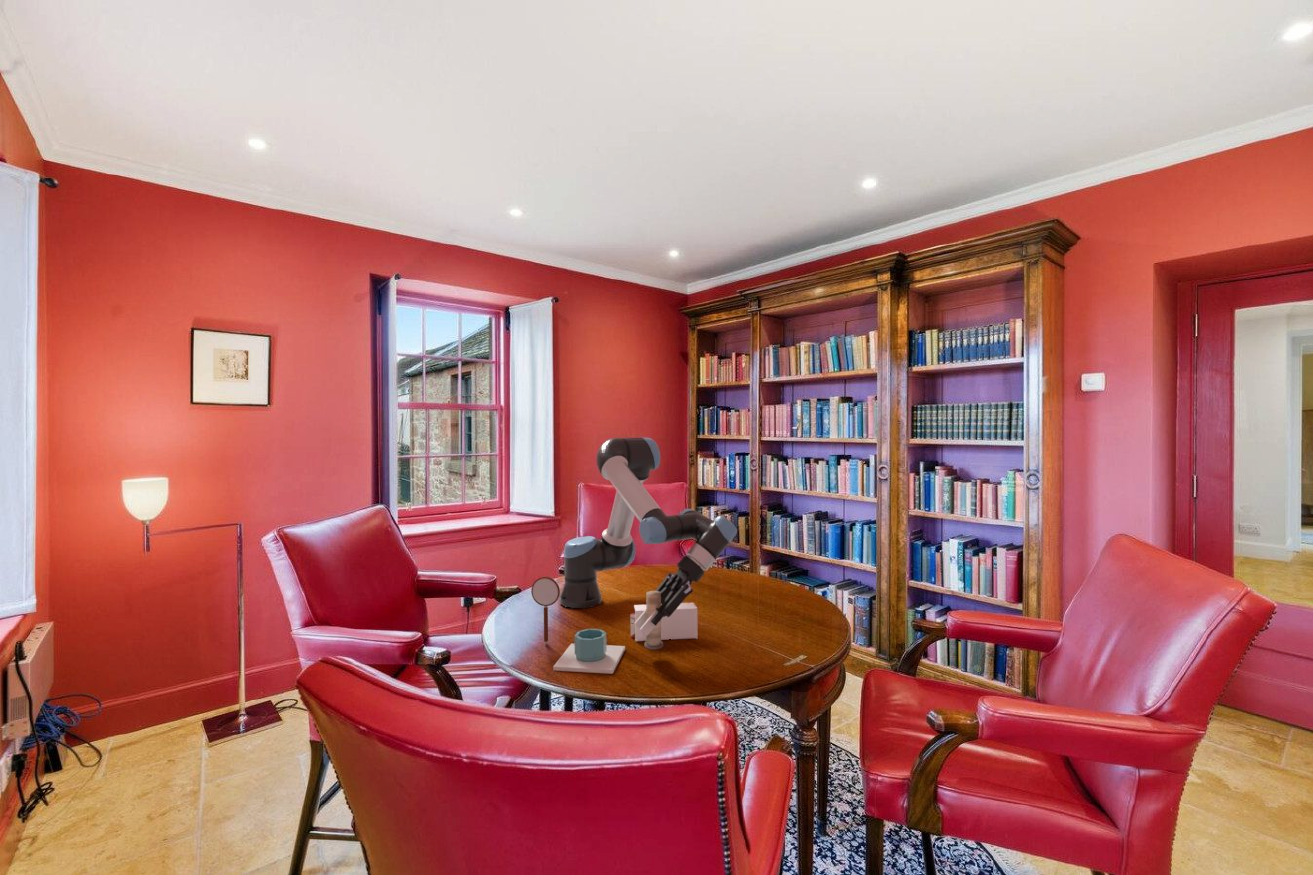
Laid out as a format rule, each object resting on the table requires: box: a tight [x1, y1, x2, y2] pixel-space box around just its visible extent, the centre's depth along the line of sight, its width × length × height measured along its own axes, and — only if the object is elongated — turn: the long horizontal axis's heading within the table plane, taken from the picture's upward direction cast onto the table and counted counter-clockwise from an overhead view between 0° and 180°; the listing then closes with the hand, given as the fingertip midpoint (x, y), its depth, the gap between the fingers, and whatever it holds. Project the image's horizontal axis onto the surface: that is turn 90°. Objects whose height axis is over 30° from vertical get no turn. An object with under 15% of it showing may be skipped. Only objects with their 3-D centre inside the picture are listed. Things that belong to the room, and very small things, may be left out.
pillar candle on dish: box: [644, 590, 664, 650], centre depth 153 cm, size 5×5×15 cm
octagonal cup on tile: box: [552, 628, 626, 675], centre depth 152 cm, size 16×16×7 cm
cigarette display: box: [629, 602, 699, 642], centre depth 169 cm, size 20×6×9 cm, turn 96°
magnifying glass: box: [531, 576, 561, 645], centre depth 164 cm, size 9×2×20 cm, turn 82°
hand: (640, 629), depth 151 cm, fingers closed on pillar candle on dish, 4 cm apart
